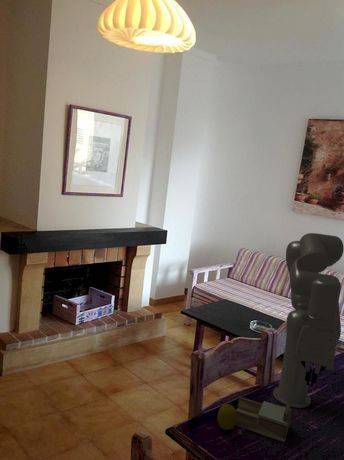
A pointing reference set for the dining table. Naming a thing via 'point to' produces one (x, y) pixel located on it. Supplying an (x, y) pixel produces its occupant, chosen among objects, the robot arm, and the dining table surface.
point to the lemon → (227, 417)
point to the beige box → (258, 420)
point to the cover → (275, 413)
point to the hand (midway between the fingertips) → (309, 384)
